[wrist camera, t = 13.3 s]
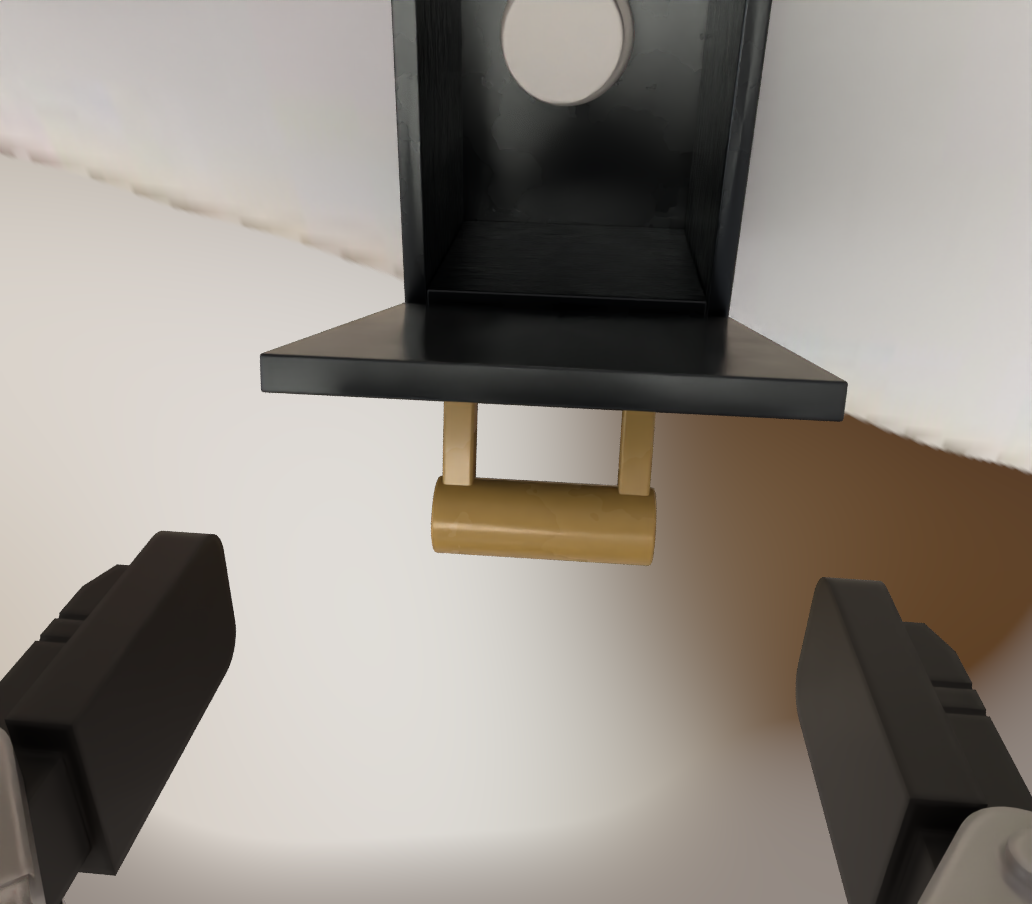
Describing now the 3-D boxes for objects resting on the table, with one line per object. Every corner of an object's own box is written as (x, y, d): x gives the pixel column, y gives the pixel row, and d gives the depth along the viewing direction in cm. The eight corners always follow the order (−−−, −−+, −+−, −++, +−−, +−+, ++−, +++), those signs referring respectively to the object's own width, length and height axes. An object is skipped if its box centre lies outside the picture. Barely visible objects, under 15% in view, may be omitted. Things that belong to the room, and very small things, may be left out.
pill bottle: (640, 71, 37) (649, 97, 30) (530, 101, 38) (512, 133, 31) (618, -56, 35) (621, -61, 28) (502, -21, 36) (475, -18, 28)
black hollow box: (442, -110, 35) (384, -138, 26) (738, -106, 34) (791, -134, 25) (449, 232, 42) (404, 309, 32) (698, 241, 41) (727, 323, 31)
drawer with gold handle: (258, 353, 18) (265, 577, 19) (849, 381, 17) (819, 613, 18) (402, 302, 32) (402, 433, 33) (730, 316, 31) (717, 450, 32)
